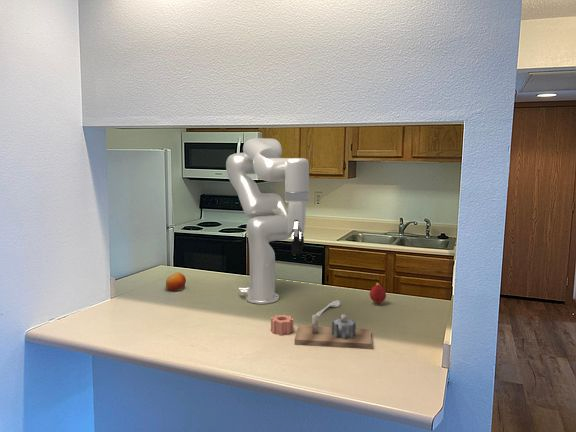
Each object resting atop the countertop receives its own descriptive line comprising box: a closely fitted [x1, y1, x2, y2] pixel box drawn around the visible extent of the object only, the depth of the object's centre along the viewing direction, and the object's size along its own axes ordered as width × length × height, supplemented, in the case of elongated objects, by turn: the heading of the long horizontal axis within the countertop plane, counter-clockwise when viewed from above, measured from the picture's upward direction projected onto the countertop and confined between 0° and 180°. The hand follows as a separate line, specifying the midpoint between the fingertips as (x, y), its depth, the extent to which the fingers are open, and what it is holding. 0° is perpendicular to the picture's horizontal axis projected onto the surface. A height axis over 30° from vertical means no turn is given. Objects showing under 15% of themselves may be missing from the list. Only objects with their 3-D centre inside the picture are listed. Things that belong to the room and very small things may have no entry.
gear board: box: [293, 313, 373, 350], centre depth 134 cm, size 22×11×8 cm, turn 82°
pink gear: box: [270, 314, 294, 336], centre depth 140 cm, size 7×7×4 cm
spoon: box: [314, 300, 341, 317], centre depth 159 cm, size 4×21×2 cm, turn 146°
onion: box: [369, 282, 387, 305], centre depth 165 cm, size 6×6×8 cm
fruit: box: [165, 272, 187, 292], centre depth 183 cm, size 8×8×8 cm
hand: (297, 251), depth 144 cm, fingers open, 9 cm apart
